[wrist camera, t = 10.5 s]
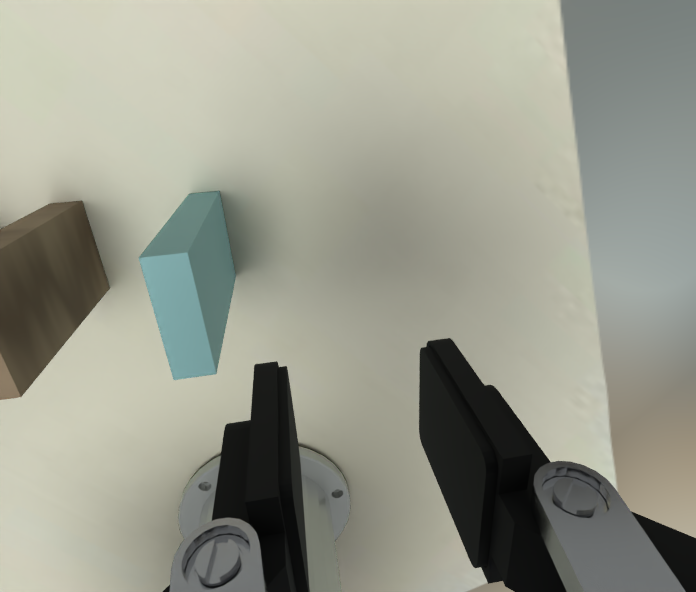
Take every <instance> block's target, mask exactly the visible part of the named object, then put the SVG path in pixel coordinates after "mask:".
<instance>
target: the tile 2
mask: <svg viewBox="0 0 696 592" xmlns="http://www.w3.org/2000/svg"><path fill="white" fill-rule="evenodd" d="M109 289H110V287H109V284H108V281H107V278H106V274H105V271H104V268H103V265H102V262H101V259H100V256H99V253H98V249H97V246H96V243H95V240H94V237H93V234H92V231H91V228H90V224H89V221H88V218H87V215H86V212H85V209H84V206H83V203H82V201H75V202H64V203H53V204H48V205H46V206H44V207H42V208H41V209H39V210H37V211H35V212H33V213H31V214H29V215H27V216H25V217H23V218H21V219H19V220H17V221H16V222H14V223H12V224H10V225H8V226H6V227H4V228H2V229H0V400H3V399H10V398H18V397H21V396H22V395H23V394H24V393H25V392H26V390H27V389H28V388H29V387H30V385H31V384H32V383H33V382H34V381H35V379H36V378H37V377H38V376H39V374H40V373H41V372H42V371H43V369H44V368H45V367H46V366H47V365H48V363H49V362H50V361H51V360H52V358H53V357H54V356H55V355H56V354H57V352H58V351H59V350H60V349H61V347H62V346H63V345H64V344H65V342H66V341H67V340H68V339H69V338H70V336H71V335H72V334H73V333H74V331H75V330H76V329H77V328H78V327H79V325H80V324H81V323H82V322H83V320H84V319H85V318H86V317H87V316H88V314H89V313H90V312H91V311H92V309H93V308H94V307H95V306H96V304H97V303H98V302H99V301H100V300H101V298H102V297H103V296H104V295H105V293H106V292H107V291H108V290H109Z"/></svg>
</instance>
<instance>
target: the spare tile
mask: <svg viewBox="0 0 696 592" xmlns="http://www.w3.org/2000/svg"><path fill="white" fill-rule="evenodd" d="M139 261H140V264H141V268H142V271H143V275H144V278H145V282H146V285H147V289H148V292H149V296H150V299H151V303H152V306H153V309H154V313H155V316H156V320H157V323H158V327H159V330H160V334H161V337H162V341H163V344H164V348H165V351H166V355H167V358H168V362H169V365H170V368H171V372H172V375H173V379H174V380H178V379H185V378H192V377H199V376H206V375H213V374H216V373H217V368H218V363H219V358H220V353H221V348H222V343H223V338H224V333H225V328H226V323H227V318H228V313H229V308H230V303H231V298H232V293H233V288H234V283H235V278H236V275H235V269H234V264H233V259H232V254H231V248H230V243H229V238H228V233H227V228H226V222H225V217H224V212H223V207H222V201H221V196H220V191H214V192H203V193H193V194H189V195H188V196H187V197H186V198H185V200H184V201H183V202H182V204H181V205H180V206H179V207H178V209H177V210H176V211H175V212H174V214H173V215H172V216H171V218H170V219H169V220H168V221H167V223H166V224H165V225H164V226H163V228H162V229H161V230H160V232H159V233H158V234H157V235H156V237H155V238H154V239H153V240H152V242H151V243H150V244H149V245H148V247H147V248H146V249H145V251H144V252H143V253H142V254H141V256H140V257H139Z"/></svg>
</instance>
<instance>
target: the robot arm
mask: <svg viewBox="0 0 696 592" xmlns="http://www.w3.org/2000/svg"><path fill="white" fill-rule="evenodd" d="M419 433H420V439H421V443H422V446H423V448H424V451H425V453H426V455H427V458H428V460H429V463H430V465H431V467H432V470H433V472H434V475H435V477H436V479H437V482H438V484H439V487H440V489H441V492H442V494H443V496H444V499H445V501H446V504H447V506H448V508H449V511H450V513H451V516H452V518H453V520H454V523H455V525H456V528H457V530H458V533H459V535H460V537H461V540H462V542H463V545H464V547H465V549H466V552H467V554H468V557H469V559H470V561H471V563H472V565H473V567H475V568H478V567H481V568H482V570H483V572H484V575H485V577H486V579H487V582H488V584H489V583H493V582H499V581H503V582H504V584H505V586H506V587H508V588H509V589H511V590H513V591H515V592H696V538H694V537H691V536H689V535H687V534H684V533H682V532H679V531H677V530H674V529H672V528H669V527H667V526H665V525H662V524H660V523H657V522H655V521H653V520H650V519H648V518H646V517H643V516H641V515H638V514H636V513H633V512H631V511H630V510H629V508H628V507H627V505H626V504H625V502H624V501H623V500H622V498H621V497H620V495H619V494H618V492H617V491H616V489H615V488H614V487H613V486H612V485H611V483H610V482H609V481H608V480H607V479H606V478H604V477H603V476H602V475H600V474H599V473H598V472H596V471H594V470H592V469H590V468H588V467H586V466H584V465H581V464H577V463H573V462H566V461H556V462H550V461H549V459H548V458H547V457H546V455H545V454H544V453H543V451H542V450H541V448H540V447H539V446H538V444H537V443H536V442H535V440H534V439H533V438H532V436H531V435H530V434H529V432H528V431H527V429H526V428H525V427H524V425H523V424H522V423H521V421H520V420H519V419H518V417H517V416H516V415H515V413H514V412H513V410H512V409H511V408H510V406H509V405H508V404H507V402H506V401H505V400H504V398H503V397H502V396H501V394H500V393H499V392H498V390H497V389H496V388H495V387H494V386H492V385H486V386H484V385H483V383H482V382H481V380H480V379H479V377H478V376H477V375H476V373H475V372H474V370H473V369H472V367H471V366H470V365H469V363H468V362H467V360H466V359H465V358H464V356H463V355H462V353H461V352H460V350H459V349H458V348H457V346H456V345H455V343H454V342H453V341H452V340H451V339H450V338H448V339H440V340H433V341H428V342H427V347H424V348H421V349H420V399H419ZM349 513H350V496H349V491H348V487H347V483H346V481H345V479H344V477H343V475H342V473H341V472H340V471H339V469H338V468H337V467H336V466H335V465H334V464H333V463H332V462H331V461H329V460H328V459H327V458H325V457H324V456H322V455H320V454H318V453H316V452H314V451H312V450H310V449H307V448H303V447H300V446H298V439H297V432H296V425H295V418H294V411H293V404H292V397H291V390H290V383H289V377H288V370H287V366H284V367H279V366H278V362H270V363H262V364H255V366H254V380H253V394H252V409H251V420H249V421H243V422H236V423H229V424H227V425H226V426H225V430H224V437H223V444H222V451H221V455H220V456H218V457H217V458H215V459H213V460H211V461H210V462H209V463H207V464H206V465H205V466H203V467H202V468H201V469H199V471H198V472H197V473H196V474H195V475H194V476H193V477H192V478H191V479H190V481H189V483H188V484H187V486H186V488H185V490H184V492H183V495H182V499H181V503H180V507H179V514H178V522H179V529H180V532H181V534H182V536H183V538H184V541H183V542H182V543H181V545H180V547H179V549H178V550H177V552H176V554H175V556H174V560H173V564H172V568H171V580H170V585H169V586H168V587H167V588H166V589H165V590H164V591H163V592H342V591H341V583H340V576H339V569H338V561H337V554H336V546H335V540H336V539H337V538H338V536H339V535H340V534H341V533H342V531H343V530H344V527H345V525H346V523H347V521H348V518H349Z"/></svg>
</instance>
